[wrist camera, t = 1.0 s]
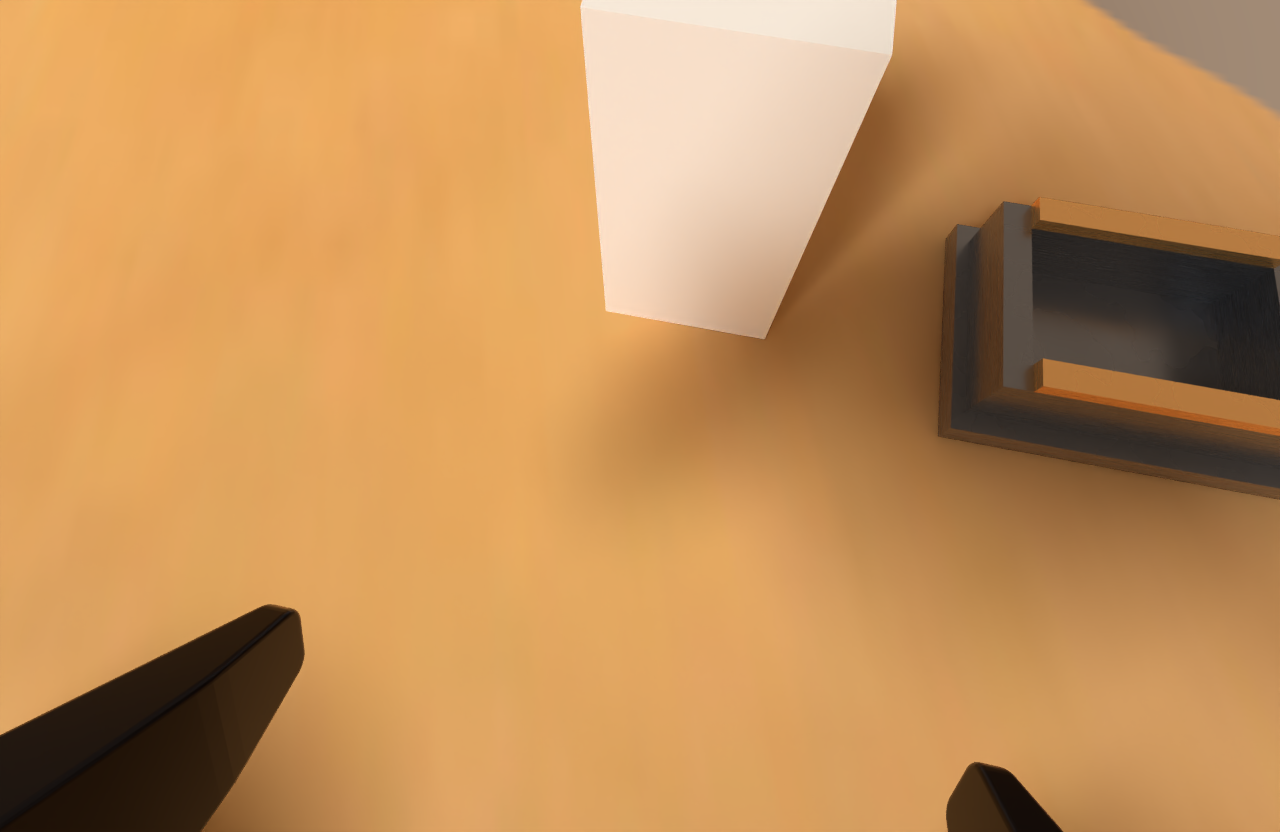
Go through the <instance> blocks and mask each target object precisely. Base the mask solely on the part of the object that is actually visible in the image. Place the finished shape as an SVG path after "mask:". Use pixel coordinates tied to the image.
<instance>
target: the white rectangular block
mask: <svg viewBox="0 0 1280 832" xmlns="http://www.w3.org/2000/svg"><path fill="white" fill-rule="evenodd" d="M896 1H897V0H583V1H582V4H581V7H580V8H581V20H582V32H583V43H584V55H585V67H586V79H587V91H588V103H589V115H590V127H591V139H592V150H593V162H594V174H595V186H596V198H597V210H598V222H599V234H600V245H601V257H602V269H603V281H604V293H605V305H606V311H609V312H615V313H620V314H626V315H631V316H637V317H642V318H648V319H654V320H659V321H665V322H670V323H676V324H681V325H687V326H693V327H698V328H704V329H709V330H715V331H720V332H726V333H732V334H737V335H743V336H748V337H754V338H759V339H765V337H766V335H767V333H768V331H769V328H770V326H771V324H772V322H773V319H774V317H775V315H776V313H777V311H778V308H779V306H780V304H781V302H782V299H783V297H784V295H785V293H786V290H787V288H788V286H789V284H790V282H791V279H792V277H793V275H794V273H795V270H796V268H797V266H798V264H799V261H800V259H801V257H802V255H803V253H804V250H805V248H806V246H807V244H808V241H809V239H810V237H811V235H812V232H813V230H814V228H815V226H816V224H817V221H818V219H819V217H820V215H821V212H822V210H823V208H824V206H825V203H826V201H827V199H828V197H829V195H830V192H831V190H832V188H833V186H834V183H835V181H836V179H837V177H838V174H839V172H840V170H841V168H842V166H843V163H844V161H845V159H846V157H847V154H848V152H849V150H850V148H851V145H852V143H853V141H854V139H855V137H856V134H857V132H858V130H859V128H860V125H861V123H862V121H863V119H864V116H865V114H866V112H867V110H868V108H869V105H870V103H871V101H872V99H873V96H874V94H875V92H876V90H877V87H878V85H879V83H880V81H881V79H882V76H883V74H884V72H885V70H886V67H887V65H888V63H889V61H890V58H891V56H892V50H893V38H894V25H895V13H896Z"/></svg>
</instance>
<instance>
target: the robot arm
mask: <svg viewBox="0 0 1280 832" xmlns="http://www.w3.org/2000/svg"><path fill="white" fill-rule="evenodd" d="M303 660H304V643H303V635H302V627H301V619H300V615H299V613H298V612H297V611H296V610H294V609H291V608H287V607H282V606H278V605H272V604H269V605H264V606H261V607H259V608H257V609H255V610H253V611H251V612H249V613H247V614H245V615H243V616H241V617H239V618H237V619H235V620H233V621H231V622H229V623H226V624H224V625H222V626H220V627H218V628H216V629H214V630H212V631H210V632H208V633H206V634H204V635H202V636H200V637H198V638H196V639H194V640H192V641H190V642H188V643H186V644H184V645H182V646H180V647H178V648H176V649H174V650H172V651H170V652H168V653H166V654H164V655H162V656H160V657H158V658H156V659H154V660H151V661H149V662H147V663H145V664H143V665H141V666H139V667H137V668H135V669H133V670H131V671H129V672H127V673H125V674H123V675H121V676H119V677H117V678H115V679H113V680H111V681H109V682H107V683H105V684H103V685H101V686H99V687H97V688H95V689H93V690H91V691H89V692H87V693H85V694H83V695H81V696H78V697H76V698H74V699H72V700H70V701H68V702H66V703H64V704H62V705H60V706H58V707H56V708H54V709H52V710H50V711H48V712H46V713H44V714H42V715H40V716H38V717H36V718H34V719H32V720H30V721H28V722H26V723H24V724H22V725H20V726H18V727H16V728H14V729H12V730H10V731H8V732H6V733H4V734H1V735H0V832H201V831H202V829H203V828H204V826H205V825H206V824H207V822H208V821H209V819H210V818H211V817H212V815H213V814H214V812H215V811H216V809H217V808H218V807H219V805H220V804H221V802H222V801H223V799H224V798H225V796H226V795H227V793H228V792H229V790H230V789H231V787H232V786H233V784H234V783H235V781H236V780H237V778H238V777H239V775H240V773H241V772H242V770H243V768H244V767H245V765H246V763H247V762H248V760H249V758H250V756H251V755H252V753H253V751H254V749H255V748H256V746H257V744H258V743H259V741H260V739H261V737H262V736H263V734H264V732H265V730H266V729H267V727H268V725H269V723H270V722H271V720H272V718H273V716H274V715H275V713H276V711H277V709H278V708H279V706H280V704H281V703H282V701H283V699H284V697H285V696H286V694H287V692H288V690H289V689H290V687H291V685H292V683H293V682H294V680H295V678H296V676H297V675H298V673H299V671H300V669H301V666H302V664H303ZM946 820H947V828H948V832H1063V831H1062V830H1061V828H1060V827H1059V826H1058V825H1057V824H1056V823H1055V822H1054V820H1053V819H1052V818H1051V817H1050V816H1049V815H1048V814H1047V812H1046V811H1045V810H1044V809H1043V808H1042V807H1041V806H1040V805H1039V803H1038V802H1037V801H1036V800H1035V799H1034V798H1033V797H1032V795H1031V794H1030V793H1029V792H1028V791H1027V790H1026V789H1025V787H1024V786H1023V785H1022V784H1021V783H1020V782H1019V781H1018V780H1017V778H1016V777H1015V776H1014V775H1013V774H1012V773H1011V772H1009V771H1008V770H1006V769H1004V768H1001V767H998V766H993V765H989V764H984V763H980V762H974V763H972V764H970V765H969V766H968V767H967V769H966V771H965V772H964V774H963V776H962V777H961V779H960V781H959V783H958V784H957V786H956V788H955V790H954V791H953V793H952V795H951V796H950V798H949V801H948V804H947V810H946Z"/></svg>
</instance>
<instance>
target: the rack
mask: <svg viewBox="0 0 1280 832" xmlns="http://www.w3.org/2000/svg"><path fill="white" fill-rule="evenodd" d="M938 436H940V437H945V438H950V439H956V440H961V441H967V442H972V443H977V444H983V445H988V446H994V447H999V448H1004V449H1010V450H1015V451H1021V452H1026V453H1032V454H1037V455H1042V456H1048V457H1053V458H1059V459H1064V460H1069V461H1075V462H1080V463H1086V464H1091V465H1096V466H1102V467H1107V468H1113V469H1118V470H1123V471H1129V472H1134V473H1140V474H1145V475H1150V476H1156V477H1161V478H1167V479H1172V480H1177V481H1183V482H1188V483H1194V484H1199V485H1205V486H1210V487H1215V488H1221V489H1226V490H1232V491H1237V492H1242V493H1248V494H1253V495H1259V496H1264V497H1269V498H1275V499H1280V236H1276V235H1270V234H1264V233H1257V232H1251V231H1245V230H1239V229H1233V228H1227V227H1221V226H1215V225H1208V224H1202V223H1196V222H1190V221H1184V220H1178V219H1172V218H1165V217H1159V216H1153V215H1147V214H1141V213H1135V212H1129V211H1123V210H1116V209H1110V208H1104V207H1098V206H1092V205H1086V204H1080V203H1073V202H1067V201H1061V200H1055V199H1049V198H1043V197H1039V198H1038V199H1037V200H1036V201H1035V202H1034V204H1033V205H1032V206H1029V205H1022V204H1016V203H1010V202H1003V203H1002V204H1001V205H1000V206H999V208H998V209H997V210H996V211H995V212H994V213H993V215H992V216H991V217H990V218H989V219H988V220H987V221H986V223H985V224H984V225H983V226H982V227H981V228H977V227H971V226H965V225H959V224H957V225H956V227H955V228H954V229H953V230H952V232H951V233H950V234H949V235H948V237H947V238H946V247H945V272H944V298H943V323H942V349H941V374H940V400H939V425H938Z"/></svg>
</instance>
